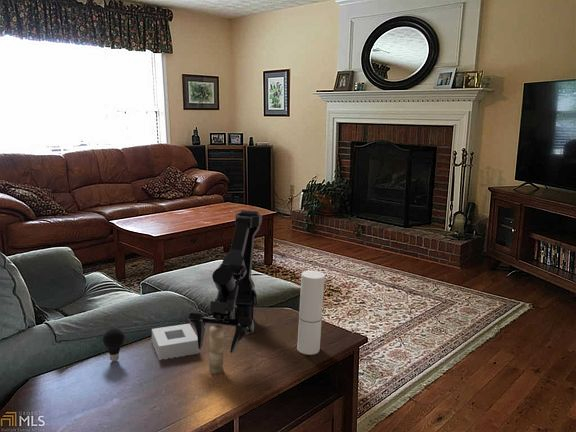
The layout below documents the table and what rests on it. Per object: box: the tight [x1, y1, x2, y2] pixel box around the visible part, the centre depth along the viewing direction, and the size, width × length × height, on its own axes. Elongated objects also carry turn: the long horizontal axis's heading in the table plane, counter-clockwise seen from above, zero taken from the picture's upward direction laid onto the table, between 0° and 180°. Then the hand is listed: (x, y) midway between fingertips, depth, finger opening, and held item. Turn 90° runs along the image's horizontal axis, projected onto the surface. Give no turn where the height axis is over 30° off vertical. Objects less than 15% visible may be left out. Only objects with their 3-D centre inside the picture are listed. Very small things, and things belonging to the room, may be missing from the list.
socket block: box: [151, 323, 200, 361], centre depth 147 cm, size 12×12×4 cm
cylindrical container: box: [296, 270, 326, 356], centre depth 149 cm, size 7×7×25 cm
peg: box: [208, 324, 225, 375], centre depth 135 cm, size 4×4×13 cm
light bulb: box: [102, 327, 125, 362], centre depth 137 cm, size 6×6×10 cm
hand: (215, 350), depth 134 cm, fingers open, 9 cm apart
